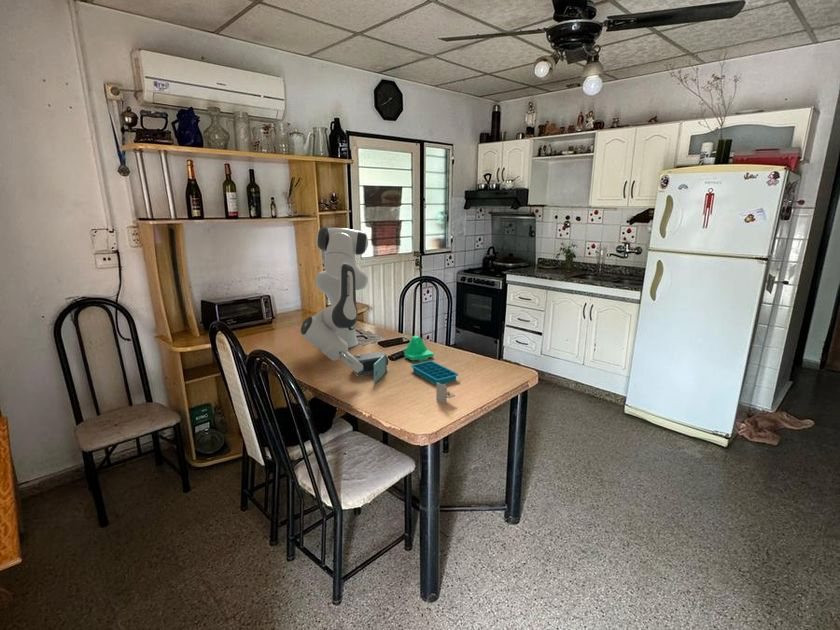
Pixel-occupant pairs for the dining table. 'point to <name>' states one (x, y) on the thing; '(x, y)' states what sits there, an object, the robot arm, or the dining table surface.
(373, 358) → the action camera
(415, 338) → the camera mount
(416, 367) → the ice cube tray
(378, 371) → the side door
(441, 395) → the architectural model
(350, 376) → the dining table surface
